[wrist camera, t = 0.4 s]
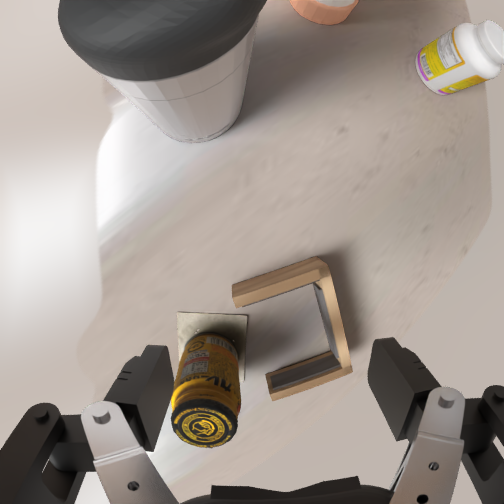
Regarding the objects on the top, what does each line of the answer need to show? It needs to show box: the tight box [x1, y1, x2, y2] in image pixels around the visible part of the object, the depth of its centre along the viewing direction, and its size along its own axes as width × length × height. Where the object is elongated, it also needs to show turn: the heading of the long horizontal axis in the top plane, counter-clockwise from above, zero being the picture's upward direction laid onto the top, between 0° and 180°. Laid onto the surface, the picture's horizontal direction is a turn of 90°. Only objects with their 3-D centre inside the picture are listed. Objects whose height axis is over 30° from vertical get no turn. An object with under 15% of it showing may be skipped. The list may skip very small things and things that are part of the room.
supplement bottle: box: [415, 20, 504, 95], centre depth 22 cm, size 7×7×13 cm
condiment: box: [171, 312, 247, 448], centre depth 26 cm, size 7×8×12 cm
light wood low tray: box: [232, 256, 353, 401], centre depth 30 cm, size 12×9×4 cm
